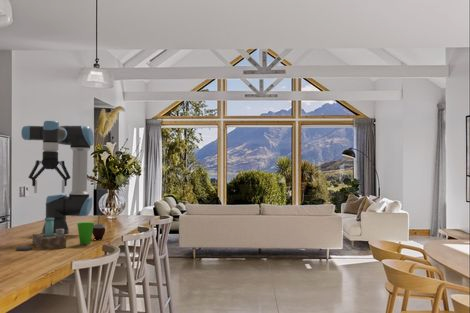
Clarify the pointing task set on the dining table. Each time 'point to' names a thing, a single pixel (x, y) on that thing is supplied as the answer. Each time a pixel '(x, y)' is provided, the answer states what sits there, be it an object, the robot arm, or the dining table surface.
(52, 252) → the dining table surface
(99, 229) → the mate gourd
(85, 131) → the robot arm
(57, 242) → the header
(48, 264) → the dining table surface
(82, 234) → the cup
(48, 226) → the teal tall cylinder
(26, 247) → the coaster
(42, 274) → the dining table surface
